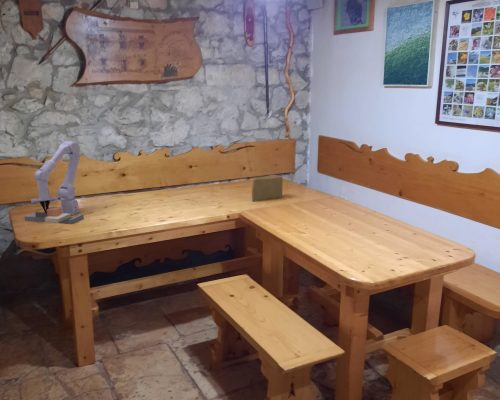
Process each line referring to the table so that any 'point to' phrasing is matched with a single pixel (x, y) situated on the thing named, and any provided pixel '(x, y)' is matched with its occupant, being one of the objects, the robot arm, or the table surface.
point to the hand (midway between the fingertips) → (46, 213)
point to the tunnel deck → (53, 218)
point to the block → (54, 211)
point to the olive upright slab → (267, 188)
